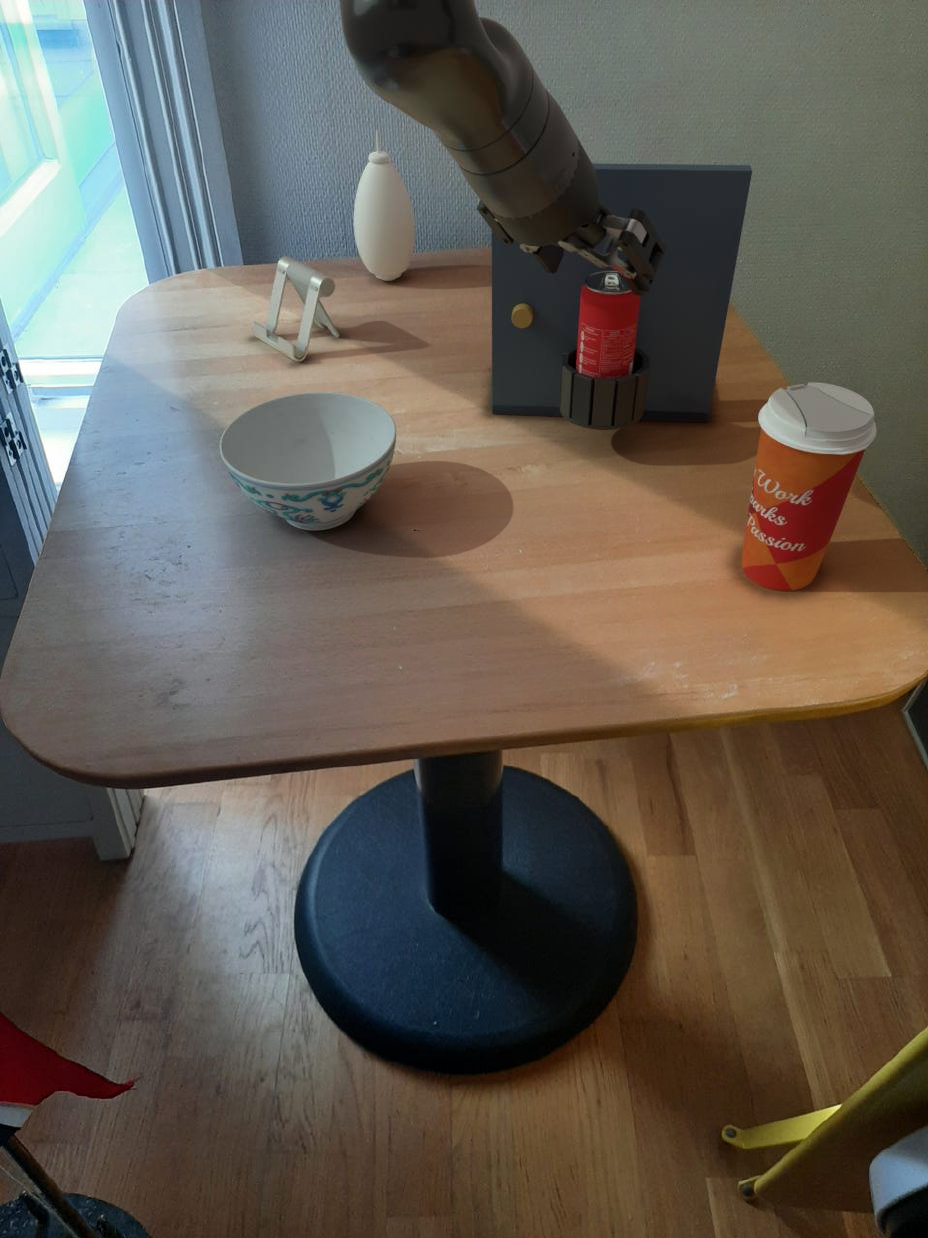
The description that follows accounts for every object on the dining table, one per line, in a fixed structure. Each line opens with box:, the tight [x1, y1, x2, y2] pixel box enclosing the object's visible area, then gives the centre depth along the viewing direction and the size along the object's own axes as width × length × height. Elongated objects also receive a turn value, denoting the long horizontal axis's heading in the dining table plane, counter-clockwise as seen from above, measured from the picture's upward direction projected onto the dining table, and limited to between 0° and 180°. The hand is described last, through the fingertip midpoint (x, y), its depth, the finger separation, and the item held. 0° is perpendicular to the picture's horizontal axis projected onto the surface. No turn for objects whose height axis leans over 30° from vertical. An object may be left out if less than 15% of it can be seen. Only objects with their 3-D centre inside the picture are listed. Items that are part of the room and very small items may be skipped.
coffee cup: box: [741, 381, 878, 592], centre depth 71 cm, size 8×8×15 cm
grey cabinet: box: [490, 162, 753, 431], centre depth 87 cm, size 22×18×24 cm
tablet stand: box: [251, 255, 340, 363], centre depth 106 cm, size 9×8×8 cm
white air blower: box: [353, 129, 416, 282], centre depth 116 cm, size 8×8×18 cm
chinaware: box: [219, 391, 397, 531], centre depth 81 cm, size 15×15×8 cm
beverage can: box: [576, 271, 641, 414], centre depth 84 cm, size 5×5×12 cm
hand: (599, 273), depth 77 cm, fingers open, 8 cm apart
